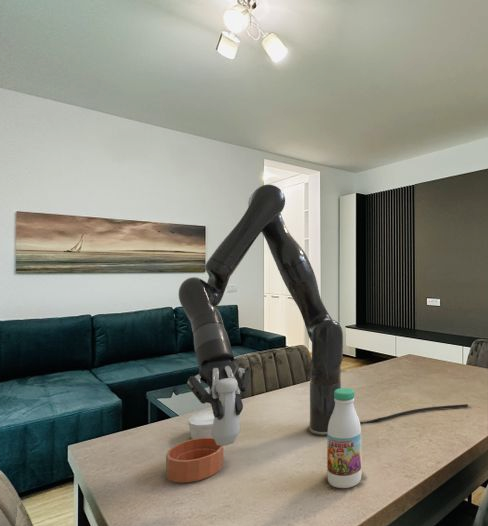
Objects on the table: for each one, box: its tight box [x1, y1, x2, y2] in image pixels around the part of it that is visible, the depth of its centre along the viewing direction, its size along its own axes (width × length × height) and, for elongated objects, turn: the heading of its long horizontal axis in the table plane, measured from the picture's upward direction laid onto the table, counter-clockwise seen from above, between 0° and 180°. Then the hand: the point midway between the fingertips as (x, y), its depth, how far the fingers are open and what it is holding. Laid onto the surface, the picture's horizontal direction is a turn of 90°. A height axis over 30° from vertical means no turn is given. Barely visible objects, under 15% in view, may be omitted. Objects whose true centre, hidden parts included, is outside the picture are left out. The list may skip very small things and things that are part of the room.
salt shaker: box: [211, 378, 242, 447], centre depth 79 cm, size 6×6×13 cm
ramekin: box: [187, 409, 214, 439], centre depth 108 cm, size 11×11×5 cm
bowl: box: [165, 437, 225, 483], centre depth 89 cm, size 12×12×5 cm
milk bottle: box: [326, 387, 363, 489], centre depth 85 cm, size 8×8×20 cm
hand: (230, 415), depth 77 cm, fingers closed on salt shaker, 3 cm apart
